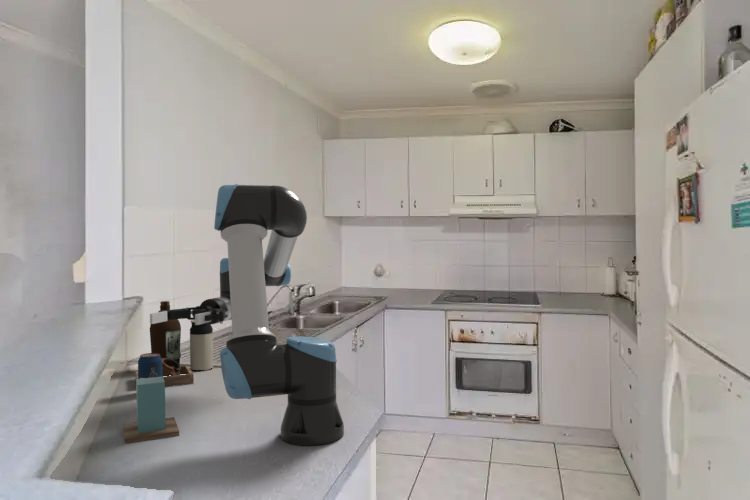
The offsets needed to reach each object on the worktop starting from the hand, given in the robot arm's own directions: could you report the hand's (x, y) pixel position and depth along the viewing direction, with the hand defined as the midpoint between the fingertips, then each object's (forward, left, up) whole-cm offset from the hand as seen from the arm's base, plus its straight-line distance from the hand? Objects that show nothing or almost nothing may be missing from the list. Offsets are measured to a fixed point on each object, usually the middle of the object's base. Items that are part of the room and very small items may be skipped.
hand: (173, 319), depth 146 cm
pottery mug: (+45, 0, -27) cm, 52 cm away
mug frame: (+43, -1, -26) cm, 51 cm away
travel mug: (+56, -15, -27) cm, 64 cm away
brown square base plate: (-8, +6, -26) cm, 28 cm away
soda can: (+29, +4, -27) cm, 40 cm away
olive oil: (+60, -3, -27) cm, 66 cm away
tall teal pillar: (-8, +6, -25) cm, 27 cm away
